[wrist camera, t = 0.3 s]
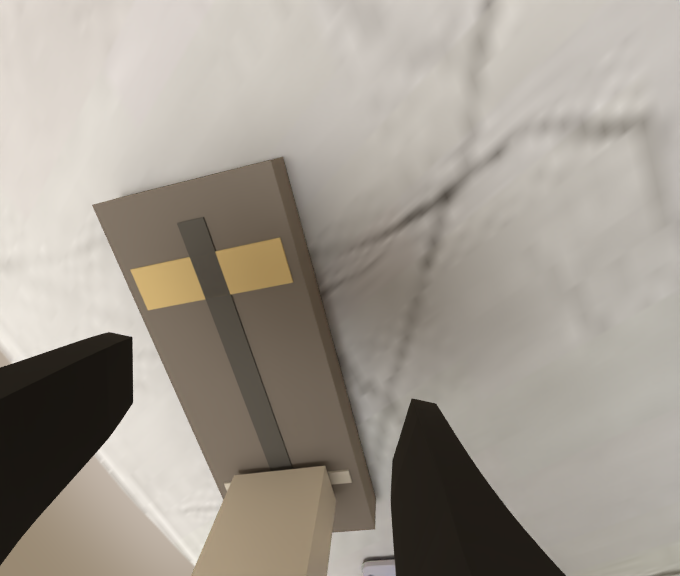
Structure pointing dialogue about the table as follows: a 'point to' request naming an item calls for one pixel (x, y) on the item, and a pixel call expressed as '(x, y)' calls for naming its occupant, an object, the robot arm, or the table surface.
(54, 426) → the robot arm
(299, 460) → the fader console
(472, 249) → the table surface
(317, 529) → the fader tab
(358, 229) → the table surface
